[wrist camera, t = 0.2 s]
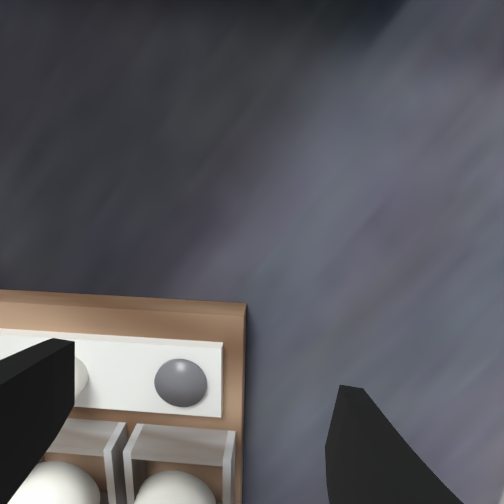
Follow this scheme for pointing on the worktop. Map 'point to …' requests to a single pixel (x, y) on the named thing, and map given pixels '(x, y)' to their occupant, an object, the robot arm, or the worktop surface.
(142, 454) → the console
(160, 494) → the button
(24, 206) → the worktop surface
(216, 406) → the strip
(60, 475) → the button mid
